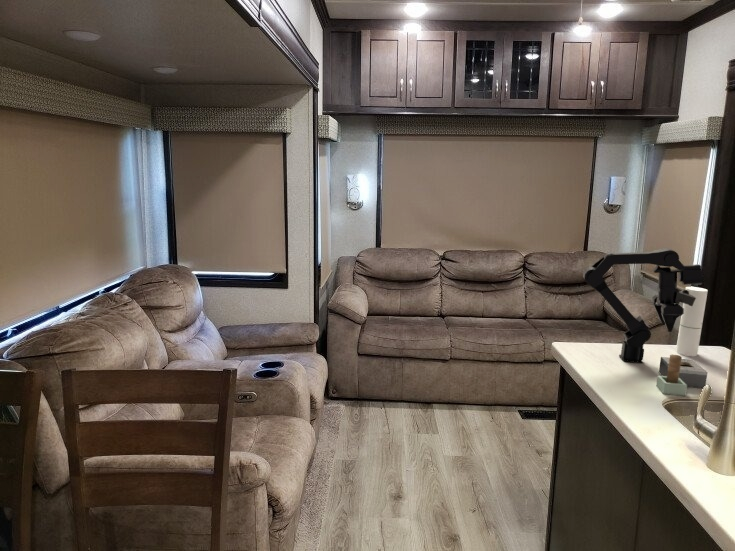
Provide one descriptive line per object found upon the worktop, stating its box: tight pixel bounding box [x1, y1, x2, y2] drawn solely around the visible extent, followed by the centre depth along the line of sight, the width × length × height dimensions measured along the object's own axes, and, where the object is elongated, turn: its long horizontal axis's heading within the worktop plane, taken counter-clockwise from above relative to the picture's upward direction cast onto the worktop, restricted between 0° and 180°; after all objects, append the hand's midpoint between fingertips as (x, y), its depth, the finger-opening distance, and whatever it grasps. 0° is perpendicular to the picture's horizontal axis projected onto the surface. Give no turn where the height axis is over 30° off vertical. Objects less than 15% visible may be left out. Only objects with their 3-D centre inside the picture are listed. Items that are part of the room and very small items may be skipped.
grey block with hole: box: [658, 356, 708, 389], centre depth 185 cm, size 10×12×6 cm
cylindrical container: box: [675, 286, 709, 357], centre depth 212 cm, size 7×7×25 cm
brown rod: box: [666, 354, 683, 384], centre depth 175 cm, size 3×3×11 cm
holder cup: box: [656, 375, 688, 397], centre depth 176 cm, size 6×6×4 cm
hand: (666, 328), depth 199 cm, fingers open, 9 cm apart
